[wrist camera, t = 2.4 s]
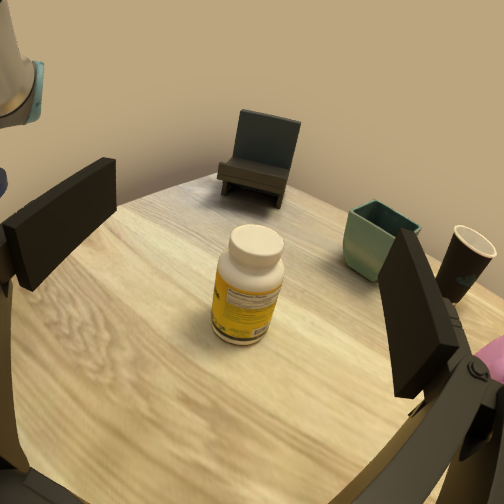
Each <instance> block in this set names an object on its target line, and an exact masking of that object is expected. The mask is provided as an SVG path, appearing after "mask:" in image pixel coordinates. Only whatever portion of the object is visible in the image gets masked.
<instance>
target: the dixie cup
mask: <svg viewBox="0 0 504 504" xmlns="http://www.w3.org/2000/svg"><path fill="white" fill-rule="evenodd" d="M496 254H497V253H496V250H495V248H494V246H493V245H492V244H491V243H490V242H489V241H488V240H487V239H486V238H485V237H483V236H482V235H481V234H479V233H478V232H476V231H474V230H472V229H470V228H468V227H465V226H462V225H457V226H455V227H454V234H453V236H452V239H451V242H450V245H449V247H448V250H447V252H446V255H445V257H444V259H443V262H442V264H441V267H440V269H439V271H438V274H437V276H436V278H435V279H436V282H437V284H438V287H439V289H440V292H441V295H442V297H444V298H448V299H449V301H450V302H451V303H452V304H453V306H454V305H455V304H456V303H458V302H459V301H460V300H461V299H462V297H463V296H464V295H465V294H466V292H467V291H468V290H469V289H470V287H471V286H472V285H473V284H474V282H475V281H476V280H477V278H478V277H479V276H480V274H481V273H482V272H483V270H484V269H485V268H486V266H487V265H488V264H489V262H490V261H491V260H492V258H494V257H495V256H496Z"/></svg>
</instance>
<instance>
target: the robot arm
mask: <svg viewBox="0 0 504 504" xmlns="http://www.w3.org/2000/svg"><path fill="white" fill-rule="evenodd" d="M43 74H44V63H43V62H42V61H32V62H31V61H30V60H29V58H28V57H26V56H25V55H24V54H22V53H20V52H19V48H18V45H17V41H16V37H15V33H14V29H13V25H12V21H11V17H10V12H9V8H8V3H7V0H0V129H1V128H5V127H10V126H16V125H26V124H27V123H31V122H35V121H36V120H38V119H39V117H40V114H41V100H42V88H43ZM116 211H117V206H116V160H115V159H111V158H105V157H103V158H101V159H99V160H97V161H96V162H94V163H92V164H90V165H89V166H87V167H85V168H83V169H82V170H80V171H79V172H77V173H75V174H74V175H72V176H70V177H69V178H67V179H66V180H64V181H62V182H61V183H60V184H58V185H56V186H55V187H53V188H52V189H50V190H49V191H47V192H46V193H44V194H43V195H41V196H40V197H38V198H37V199H35V200H33V201H31V202H30V203H28V204H27V205H25V206H24V208H21V209H20V210H18V211H17V213H14V214H13V215H12V216H10V217H9V218H8V219H6V220H5V221H4V222H2V223H1V224H0V504H90V503H88V502H86V501H85V500H83V499H82V498H80V497H78V496H77V495H75V494H74V493H72V492H71V491H69V490H68V489H66V488H65V487H63V486H61V485H59V484H58V483H56V482H54V481H53V480H51V479H49V478H48V477H46V476H44V475H43V474H41V473H39V472H38V471H36V470H35V469H33V468H32V467H30V466H29V463H28V460H27V458H26V456H25V454H24V452H23V450H22V448H21V446H20V443H19V439H18V433H17V427H16V419H15V411H14V402H13V390H12V376H11V306H12V291H13V285H12V281H11V278H12V277H13V276H14V275H15V274H16V276H17V279H18V282H19V285H20V286H21V287H23V288H25V289H27V290H29V291H32V292H33V291H34V290H35V289H36V288H37V287H38V286H39V285H40V284H41V283H42V282H43V281H44V280H45V279H46V278H47V277H48V276H49V274H50V273H51V272H52V271H53V270H54V269H55V268H56V267H57V266H58V265H59V264H60V263H61V262H62V261H63V260H64V259H65V258H66V257H67V256H68V255H69V254H70V253H71V252H72V251H73V250H74V249H75V248H77V247H78V246H79V245H80V244H81V243H82V242H83V241H84V240H85V239H86V238H87V237H88V236H89V235H90V234H91V233H92V232H93V231H95V230H96V229H97V228H98V227H99V226H100V225H101V224H102V223H103V222H104V221H106V220H107V219H108V218H109V217H110V216H111V215H112V214H113V213H114V212H116ZM377 278H378V283H379V289H380V294H381V300H382V305H383V311H384V317H385V323H386V330H387V337H388V344H389V351H390V359H391V367H392V376H393V385H394V396H395V397H399V398H408V399H414V398H415V397H416V396H417V395H418V394H419V393H420V392H421V391H422V390H423V392H424V398H425V399H424V400H423V401H422V402H421V403H420V404H419V405H418V406H417V407H416V408H415V409H414V410H413V411H411V412H410V413H409V414H408V416H409V418H408V419H407V421H406V422H405V423H404V424H403V425H402V427H401V428H400V429H399V430H398V432H397V433H396V434H395V435H394V436H393V438H392V439H391V440H390V441H389V442H388V443H387V444H386V446H385V447H384V448H383V449H382V450H381V451H380V452H379V453H378V455H377V456H376V457H375V458H374V459H373V460H372V461H371V462H370V463H369V464H368V465H367V466H366V467H365V468H364V469H363V470H362V472H361V473H360V474H359V475H358V476H357V477H356V478H355V479H354V480H353V481H352V482H351V483H349V484H348V485H347V486H346V487H345V488H344V489H343V490H342V491H341V492H340V493H339V494H338V495H337V496H336V497H335V498H334V499H332V500H331V501H330V502H329V503H328V504H423V503H424V501H425V500H426V498H427V497H428V496H429V494H430V493H431V491H432V490H433V488H434V487H435V485H436V484H437V482H438V481H439V479H440V478H441V476H442V475H443V473H444V471H445V470H446V468H447V467H448V465H449V463H450V465H449V469H448V472H447V474H446V477H445V480H444V483H443V486H442V488H441V491H440V494H439V496H438V499H437V501H436V504H504V384H502V383H500V382H498V381H496V380H494V379H492V378H491V376H490V371H489V369H488V367H487V366H486V364H485V363H484V362H483V361H482V360H481V359H479V358H478V357H476V356H474V355H472V353H471V350H470V347H469V344H468V341H467V338H466V335H465V333H464V330H463V329H462V324H461V322H460V321H459V316H458V314H457V311H456V308H455V307H454V306H453V304H452V303H451V302H450V301H449V299H448V298H444V297H442V295H441V292H440V289H439V287H438V284H437V282H436V279H435V277H434V274H433V272H432V270H431V267H430V265H429V262H428V260H427V258H426V256H425V253H424V251H423V249H422V247H421V244H420V242H419V240H418V238H417V236H416V233H415V232H414V231H410V230H407V229H404V228H401V227H400V228H399V230H398V233H397V235H396V237H395V239H394V242H393V244H392V246H391V248H390V251H389V253H388V255H387V257H386V259H385V261H384V263H383V266H382V268H381V270H380V272H379V274H378V276H377Z"/></svg>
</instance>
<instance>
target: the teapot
mask: <svg viewBox="0 0 504 504" xmlns="http://www.w3.org/2000/svg"><path fill="white" fill-rule="evenodd" d="M474 356H476V357H478V358H479V359H481V360H482V361H483V362H484V363H485V364H486V366H487V367H488V369H489V371H490V376H491V378H492V379H494V380H496V381H498V382H500V383H502V384H504V336H501V337H499V338H497V339H495V340H494V341H492V342H490V343H489V344H487V345H486V346H485V347H483V348H482V349H481V350H479V351H478V352H477V353H476V354H475V355H474Z"/></svg>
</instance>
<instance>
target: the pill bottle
mask: <svg viewBox="0 0 504 504" xmlns="http://www.w3.org/2000/svg"><path fill="white" fill-rule="evenodd" d="M283 248H284V242H283V239H282V238H281V236H280V235H279V234H278V233H276V232H275V231H273V230H272V229H269V228H267V227H264V226H260V225H242V226H239V227H237V228H235V229H234V230H233V231H232V233H231V235H230V240H229V248H227V249H226V250H225V251H224V252H223V253H222V254H221V256H220V257H219V260H218V264H217V272H216V280H215V287H214V295H213V303H212V311H211V325H212V327H213V329H214V331H215V332H216V334H217V335H218V336H220V337H221V338H222V339H224V340H226V341H228V342H230V343H233V344H238V345H248V344H252V343H255V342H257V341H259V340H260V339H261V338H262V337H263V336H264V335H265V334H266V332H267V330H268V327H269V324H270V321H271V318H272V315H273V311H274V308H275V305H276V302H277V298H278V295H279V292H280V289H281V286H282V282H283V279H284V274H285V270H284V265H283V263H282V261H281V259H280V258H281V255H282V252H283Z"/></svg>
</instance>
